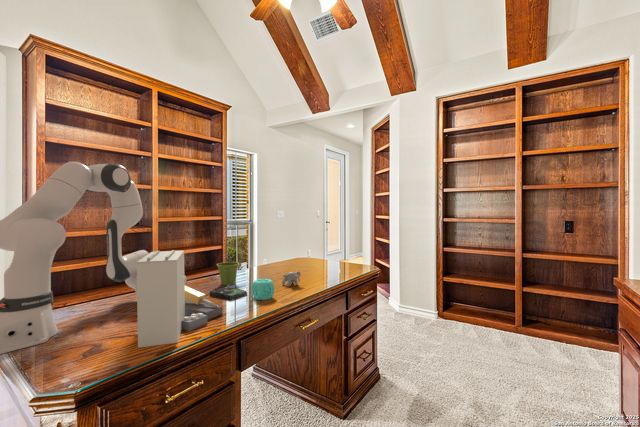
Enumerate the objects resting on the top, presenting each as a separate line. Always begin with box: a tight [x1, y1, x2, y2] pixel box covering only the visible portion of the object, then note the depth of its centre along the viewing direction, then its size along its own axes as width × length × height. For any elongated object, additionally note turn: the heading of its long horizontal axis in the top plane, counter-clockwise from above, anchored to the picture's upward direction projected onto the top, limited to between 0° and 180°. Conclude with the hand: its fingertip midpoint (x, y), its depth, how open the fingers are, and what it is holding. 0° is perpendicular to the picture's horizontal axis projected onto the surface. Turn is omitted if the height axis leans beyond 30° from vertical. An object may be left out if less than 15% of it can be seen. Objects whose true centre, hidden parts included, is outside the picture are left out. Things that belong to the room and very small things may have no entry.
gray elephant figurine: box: [281, 271, 301, 288], centre depth 167 cm, size 9×12×8 cm
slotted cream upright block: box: [136, 249, 186, 349], centre depth 106 cm, size 22×11×27 cm, turn 18°
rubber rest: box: [185, 299, 223, 321], centre depth 124 cm, size 8×20×3 cm, turn 63°
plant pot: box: [216, 261, 240, 286], centre depth 171 cm, size 12×12×11 cm
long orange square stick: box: [185, 285, 221, 308], centre depth 127 cm, size 30×3×3 cm, turn 65°
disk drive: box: [209, 286, 248, 301], centre depth 149 cm, size 10×3×15 cm
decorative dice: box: [251, 278, 275, 301], centre depth 145 cm, size 8×8×8 cm
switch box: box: [182, 313, 208, 332], centre depth 111 cm, size 8×5×4 cm, turn 153°
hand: (175, 286), depth 131 cm, fingers closed on long orange square stick, 3 cm apart
